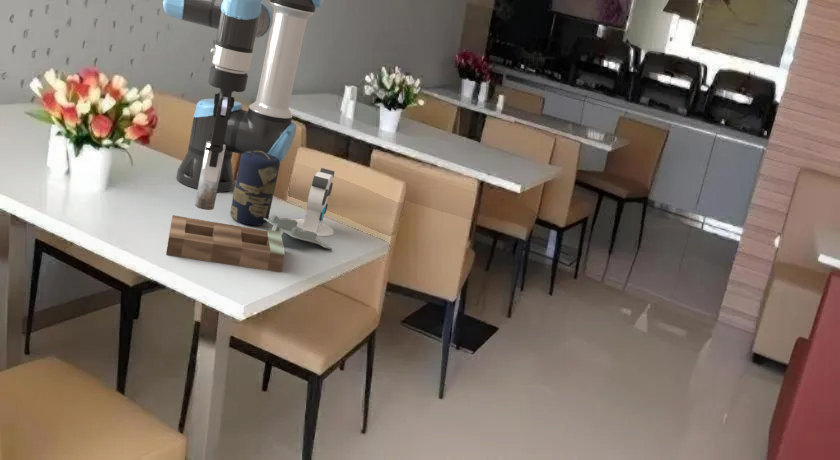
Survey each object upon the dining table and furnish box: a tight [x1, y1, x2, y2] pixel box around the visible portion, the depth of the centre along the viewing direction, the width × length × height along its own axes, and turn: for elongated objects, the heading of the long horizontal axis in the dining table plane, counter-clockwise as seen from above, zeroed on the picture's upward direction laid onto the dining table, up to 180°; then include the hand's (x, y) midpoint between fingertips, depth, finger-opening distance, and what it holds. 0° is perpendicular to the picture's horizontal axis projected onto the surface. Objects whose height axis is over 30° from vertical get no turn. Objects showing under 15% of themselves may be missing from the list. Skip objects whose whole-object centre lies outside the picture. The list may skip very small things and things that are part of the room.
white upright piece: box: [294, 167, 335, 237], centre depth 209 cm, size 12×11×15 cm
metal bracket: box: [264, 214, 333, 250], centre depth 198 cm, size 14×6×15 cm
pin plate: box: [165, 214, 286, 273], centre depth 180 cm, size 14×24×4 cm, turn 104°
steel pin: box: [194, 141, 226, 211], centre depth 175 cm, size 4×4×14 cm
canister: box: [229, 151, 281, 226], centre depth 202 cm, size 10×10×18 cm
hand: (209, 177), depth 175 cm, fingers closed on steel pin, 4 cm apart
